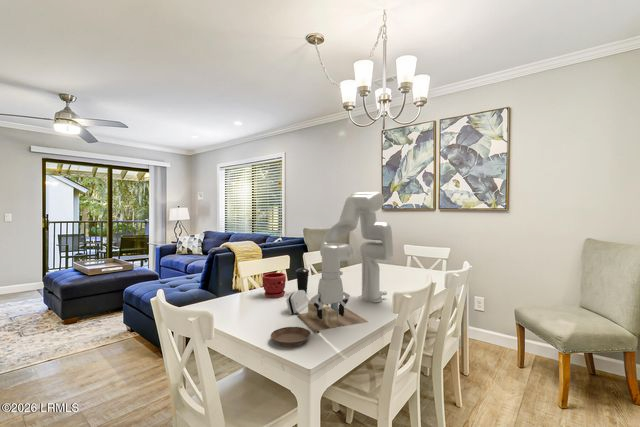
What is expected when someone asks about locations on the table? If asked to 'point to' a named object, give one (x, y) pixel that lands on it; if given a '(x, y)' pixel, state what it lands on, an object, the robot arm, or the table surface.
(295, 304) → the white rounded block
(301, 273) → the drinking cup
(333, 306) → the bracket
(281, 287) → the plant pot
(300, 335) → the saucer
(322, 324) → the board
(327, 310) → the link
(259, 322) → the table surface
